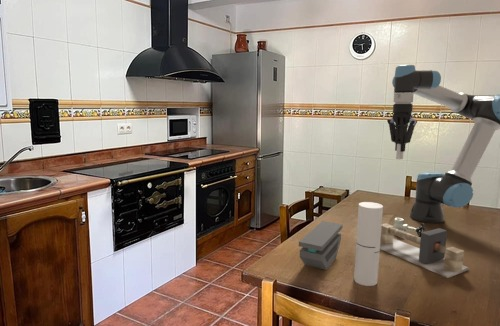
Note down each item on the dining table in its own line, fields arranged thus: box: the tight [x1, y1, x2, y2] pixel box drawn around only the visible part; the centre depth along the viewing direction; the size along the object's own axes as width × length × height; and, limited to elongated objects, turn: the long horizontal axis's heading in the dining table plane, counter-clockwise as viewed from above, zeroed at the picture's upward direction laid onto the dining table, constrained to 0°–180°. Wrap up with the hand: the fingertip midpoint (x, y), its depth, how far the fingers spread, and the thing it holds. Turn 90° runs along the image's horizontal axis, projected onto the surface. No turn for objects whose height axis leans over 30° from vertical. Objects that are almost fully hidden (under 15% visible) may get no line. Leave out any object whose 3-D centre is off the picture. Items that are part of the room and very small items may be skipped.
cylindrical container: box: [353, 201, 384, 287], centre depth 117 cm, size 7×7×25 cm
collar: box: [419, 227, 448, 264], centre depth 131 cm, size 3×10×10 cm, turn 120°
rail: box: [380, 222, 470, 279], centre depth 137 cm, size 32×12×8 cm, turn 31°
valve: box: [392, 217, 425, 238], centre depth 159 cm, size 7×7×12 cm
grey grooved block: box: [298, 220, 343, 271], centre depth 131 cm, size 25×8×11 cm, turn 151°
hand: (399, 158), depth 159 cm, fingers closed
